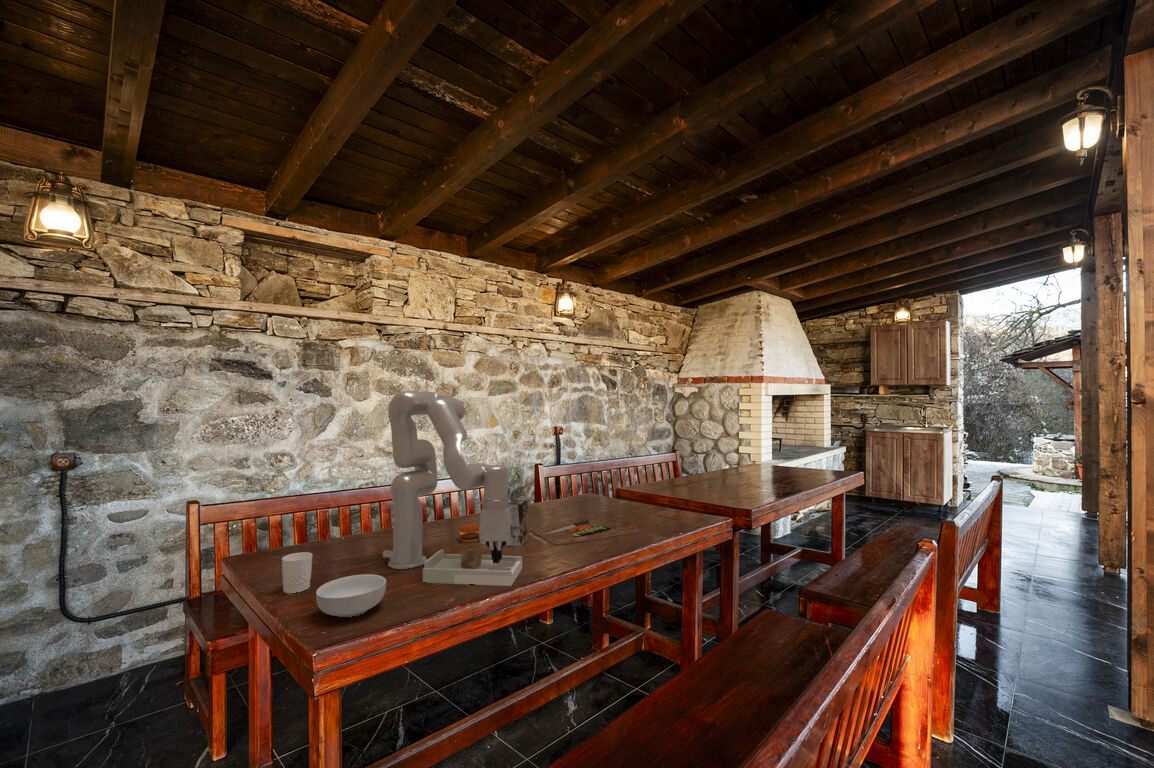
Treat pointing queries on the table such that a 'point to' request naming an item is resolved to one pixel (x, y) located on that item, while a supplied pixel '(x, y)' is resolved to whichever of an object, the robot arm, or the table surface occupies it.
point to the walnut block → (471, 560)
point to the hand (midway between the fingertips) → (496, 561)
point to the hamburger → (469, 533)
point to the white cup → (296, 572)
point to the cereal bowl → (351, 595)
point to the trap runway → (471, 570)
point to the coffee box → (519, 521)
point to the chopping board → (576, 532)
